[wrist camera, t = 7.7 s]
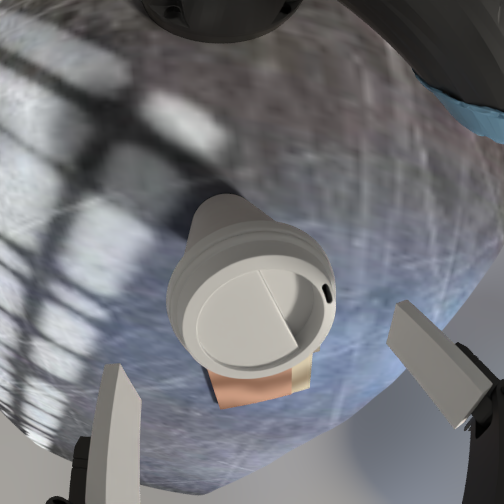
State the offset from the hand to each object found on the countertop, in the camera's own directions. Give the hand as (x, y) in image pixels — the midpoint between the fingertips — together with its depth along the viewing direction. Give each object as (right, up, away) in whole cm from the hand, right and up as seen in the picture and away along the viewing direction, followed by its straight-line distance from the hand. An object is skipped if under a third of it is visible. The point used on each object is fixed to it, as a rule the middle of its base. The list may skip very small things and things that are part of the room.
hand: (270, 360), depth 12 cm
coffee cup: (-3, +7, +15) cm, 17 cm away
